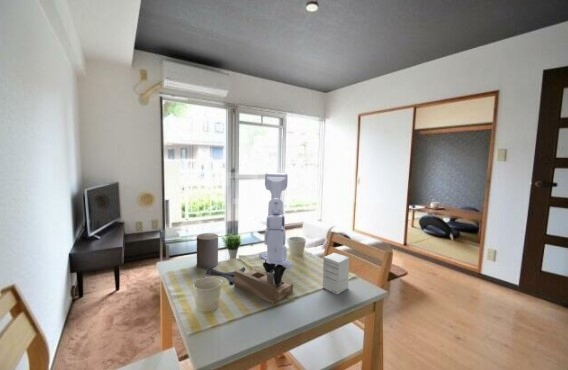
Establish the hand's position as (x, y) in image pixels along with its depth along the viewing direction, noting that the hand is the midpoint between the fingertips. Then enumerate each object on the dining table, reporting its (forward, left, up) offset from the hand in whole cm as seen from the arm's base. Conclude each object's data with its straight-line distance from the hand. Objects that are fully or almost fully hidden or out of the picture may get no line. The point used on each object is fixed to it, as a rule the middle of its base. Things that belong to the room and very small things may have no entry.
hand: (274, 282), depth 99 cm
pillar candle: (+1, -40, -4) cm, 40 cm away
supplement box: (-18, +16, -4) cm, 24 cm away
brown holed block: (0, -5, -4) cm, 6 cm away
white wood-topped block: (0, 0, -4) cm, 4 cm away
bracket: (+3, -26, -5) cm, 27 cm away
